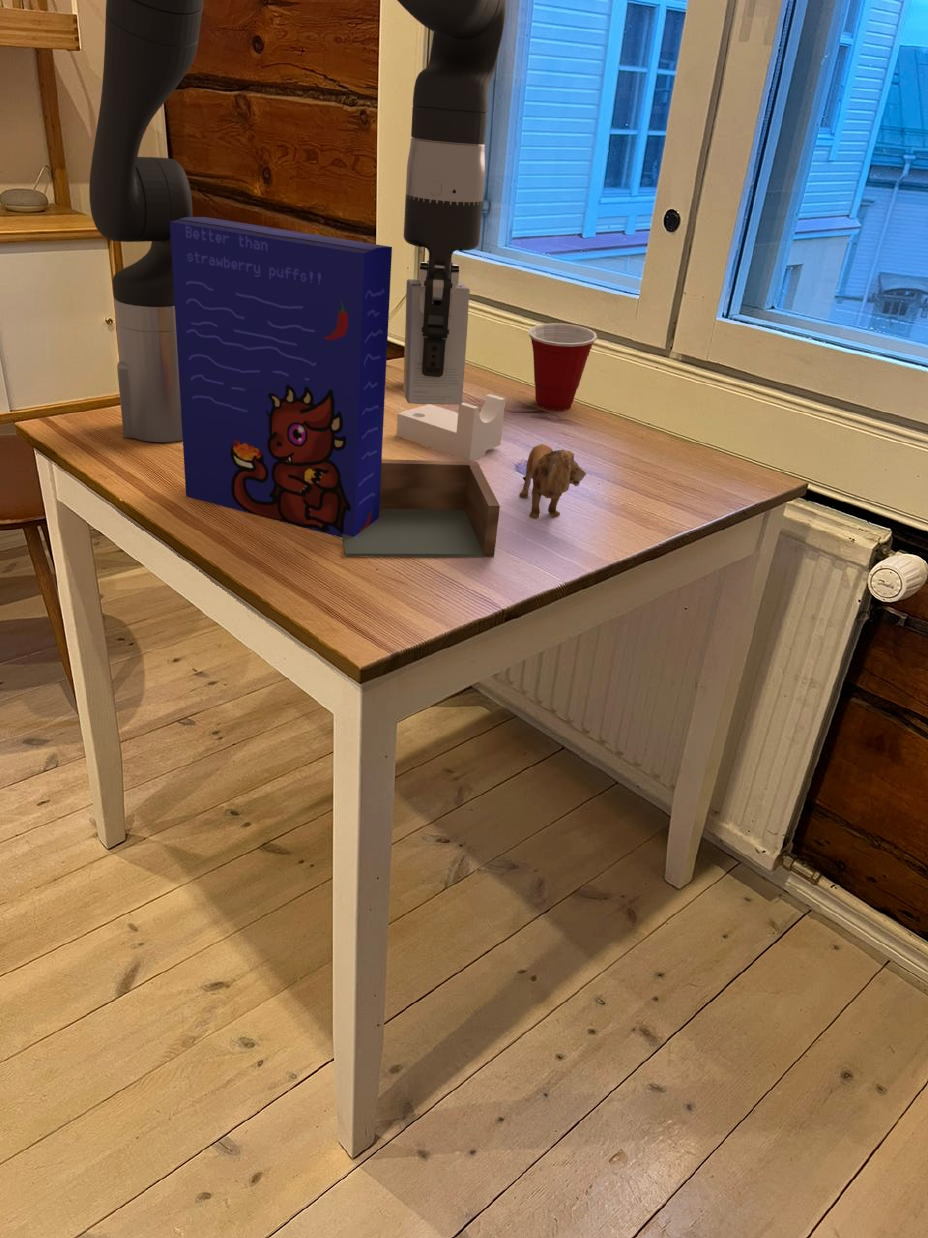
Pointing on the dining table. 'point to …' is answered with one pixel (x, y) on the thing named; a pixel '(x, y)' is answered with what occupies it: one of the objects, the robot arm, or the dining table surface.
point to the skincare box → (451, 381)
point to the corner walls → (443, 492)
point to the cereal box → (282, 371)
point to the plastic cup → (559, 362)
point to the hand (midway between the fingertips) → (432, 368)
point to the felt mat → (415, 535)
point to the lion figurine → (549, 477)
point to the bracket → (455, 427)
